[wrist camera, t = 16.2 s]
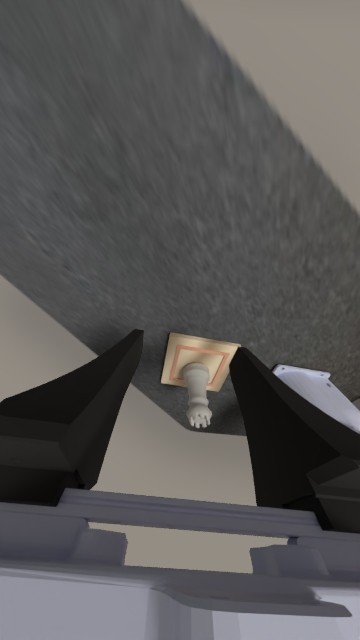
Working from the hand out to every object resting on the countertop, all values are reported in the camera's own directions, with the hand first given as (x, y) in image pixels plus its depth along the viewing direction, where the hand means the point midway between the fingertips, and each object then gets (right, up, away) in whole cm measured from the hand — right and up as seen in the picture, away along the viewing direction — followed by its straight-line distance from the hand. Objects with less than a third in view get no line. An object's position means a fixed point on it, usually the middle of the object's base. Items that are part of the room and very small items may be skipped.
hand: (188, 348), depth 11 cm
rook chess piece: (+2, -6, +14) cm, 15 cm away
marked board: (+2, -5, +14) cm, 15 cm away
